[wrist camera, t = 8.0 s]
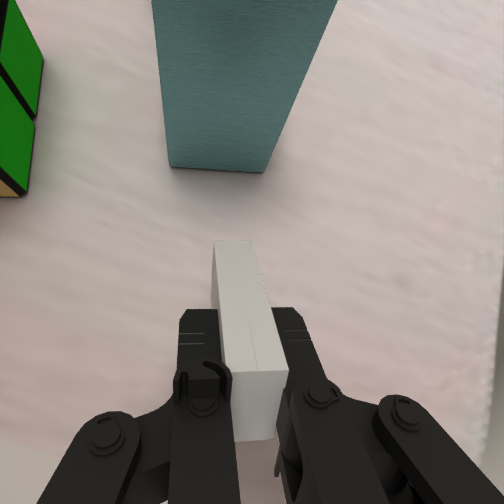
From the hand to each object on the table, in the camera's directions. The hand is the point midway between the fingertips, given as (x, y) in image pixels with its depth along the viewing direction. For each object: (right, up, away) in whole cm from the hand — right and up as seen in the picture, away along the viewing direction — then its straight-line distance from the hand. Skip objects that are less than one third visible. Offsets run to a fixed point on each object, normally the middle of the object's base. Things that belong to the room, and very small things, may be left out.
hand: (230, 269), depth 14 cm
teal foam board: (-1, +14, +10) cm, 17 cm away
